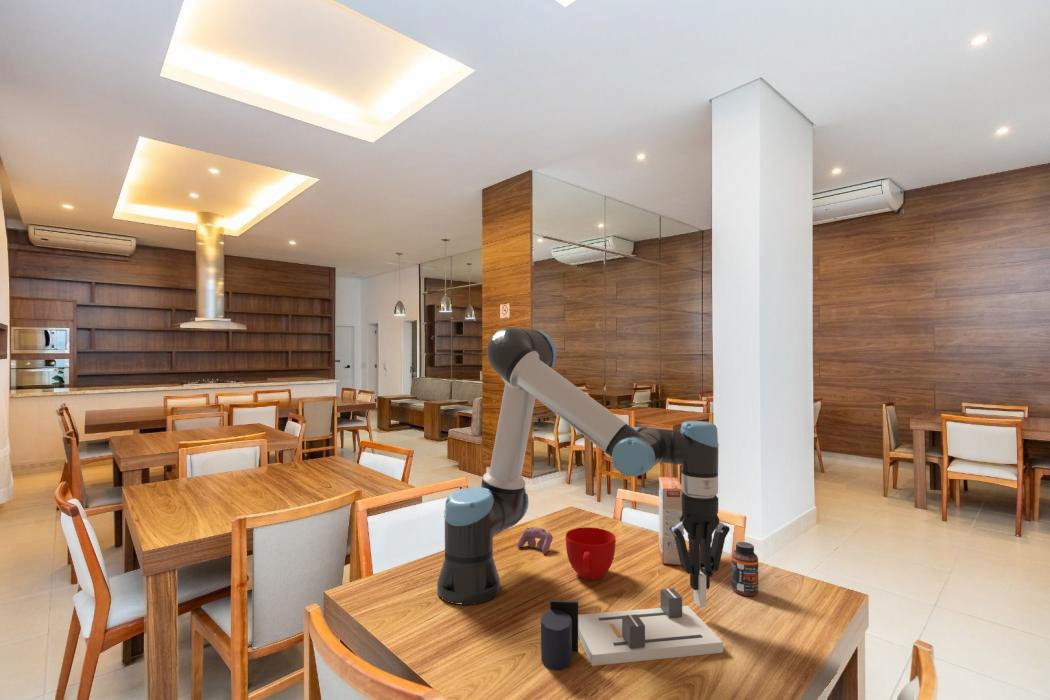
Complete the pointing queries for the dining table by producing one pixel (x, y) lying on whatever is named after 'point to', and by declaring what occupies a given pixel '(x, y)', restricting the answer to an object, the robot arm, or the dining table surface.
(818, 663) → the dining table surface
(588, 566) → the ceramic cup
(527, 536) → the purple arched piece
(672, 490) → the cracker box
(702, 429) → the robot arm
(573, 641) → the speaker
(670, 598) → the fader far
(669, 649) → the mixing board
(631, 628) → the fader near
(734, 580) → the supplement bottle
